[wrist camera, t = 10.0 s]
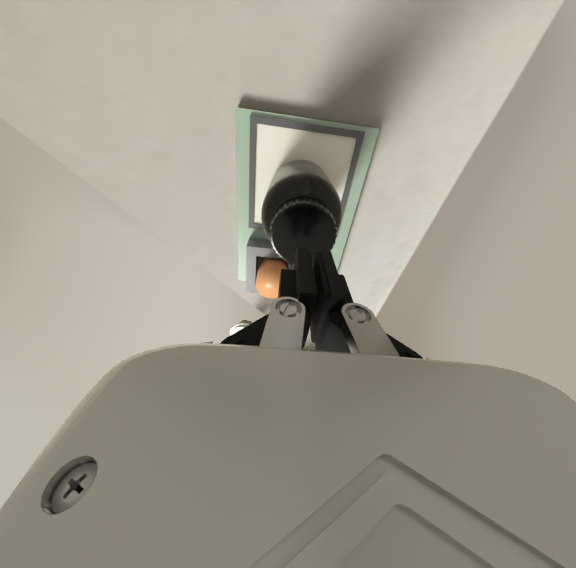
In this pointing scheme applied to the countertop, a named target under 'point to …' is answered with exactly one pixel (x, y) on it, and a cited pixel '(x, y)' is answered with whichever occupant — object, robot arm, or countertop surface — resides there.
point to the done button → (269, 276)
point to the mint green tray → (285, 148)
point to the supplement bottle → (301, 210)
